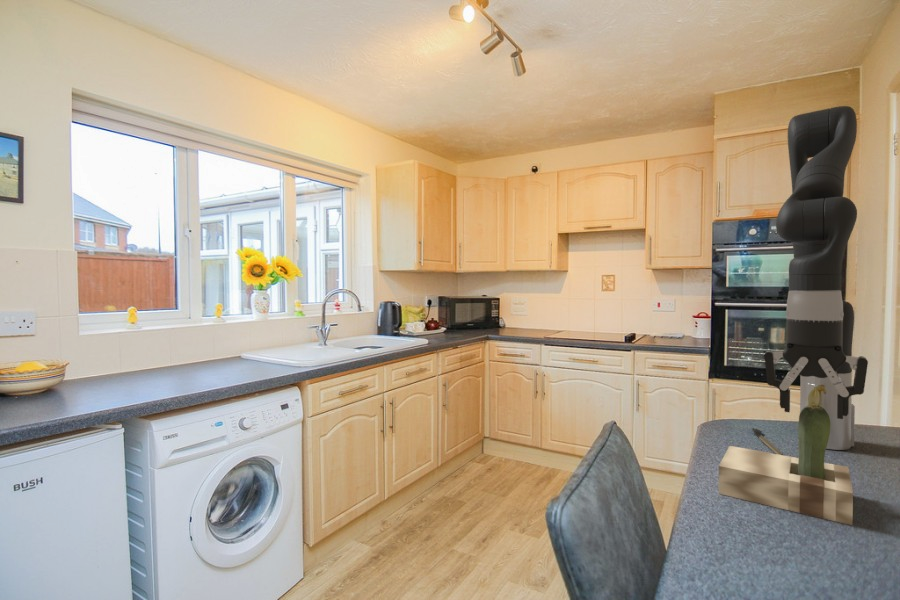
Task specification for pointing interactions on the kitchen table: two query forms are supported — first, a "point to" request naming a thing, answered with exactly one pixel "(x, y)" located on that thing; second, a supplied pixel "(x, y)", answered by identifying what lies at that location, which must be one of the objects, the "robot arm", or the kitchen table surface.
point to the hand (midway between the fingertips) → (812, 414)
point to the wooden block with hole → (786, 484)
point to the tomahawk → (766, 441)
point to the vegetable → (813, 435)
